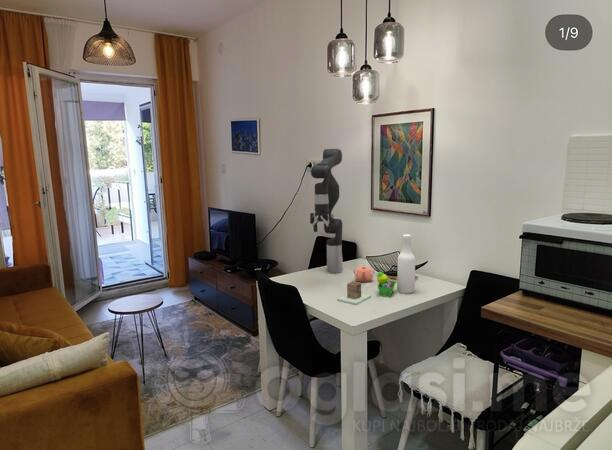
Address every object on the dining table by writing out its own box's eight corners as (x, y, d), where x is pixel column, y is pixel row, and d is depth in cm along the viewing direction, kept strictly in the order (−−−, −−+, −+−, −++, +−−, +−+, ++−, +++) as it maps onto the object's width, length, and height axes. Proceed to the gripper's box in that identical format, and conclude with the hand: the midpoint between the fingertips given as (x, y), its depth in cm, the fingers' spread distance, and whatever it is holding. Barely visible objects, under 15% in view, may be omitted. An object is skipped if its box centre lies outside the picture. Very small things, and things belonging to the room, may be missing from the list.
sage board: (352, 293, 213) (352, 291, 213) (371, 297, 206) (371, 295, 206) (337, 300, 202) (337, 298, 202) (356, 305, 195) (356, 303, 195)
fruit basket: (392, 297, 205) (392, 275, 203) (374, 296, 208) (374, 274, 206) (395, 290, 215) (395, 270, 214) (378, 289, 219) (379, 268, 217)
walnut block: (352, 294, 207) (352, 281, 206) (361, 296, 204) (361, 283, 203) (347, 297, 203) (347, 283, 202) (355, 299, 200) (355, 285, 199)
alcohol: (395, 293, 212) (396, 235, 207) (398, 288, 220) (399, 233, 215) (413, 294, 208) (414, 236, 204) (415, 289, 217) (416, 233, 212)
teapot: (374, 277, 241) (374, 263, 240) (374, 284, 227) (374, 270, 225) (353, 276, 243) (353, 263, 242) (352, 284, 228) (352, 269, 227)
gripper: (336, 202, 218) (336, 232, 220) (315, 201, 227) (315, 230, 229) (328, 204, 212) (328, 234, 215) (306, 202, 221) (307, 232, 223)
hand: (321, 232), depth 222 cm, fingers open, 8 cm apart
